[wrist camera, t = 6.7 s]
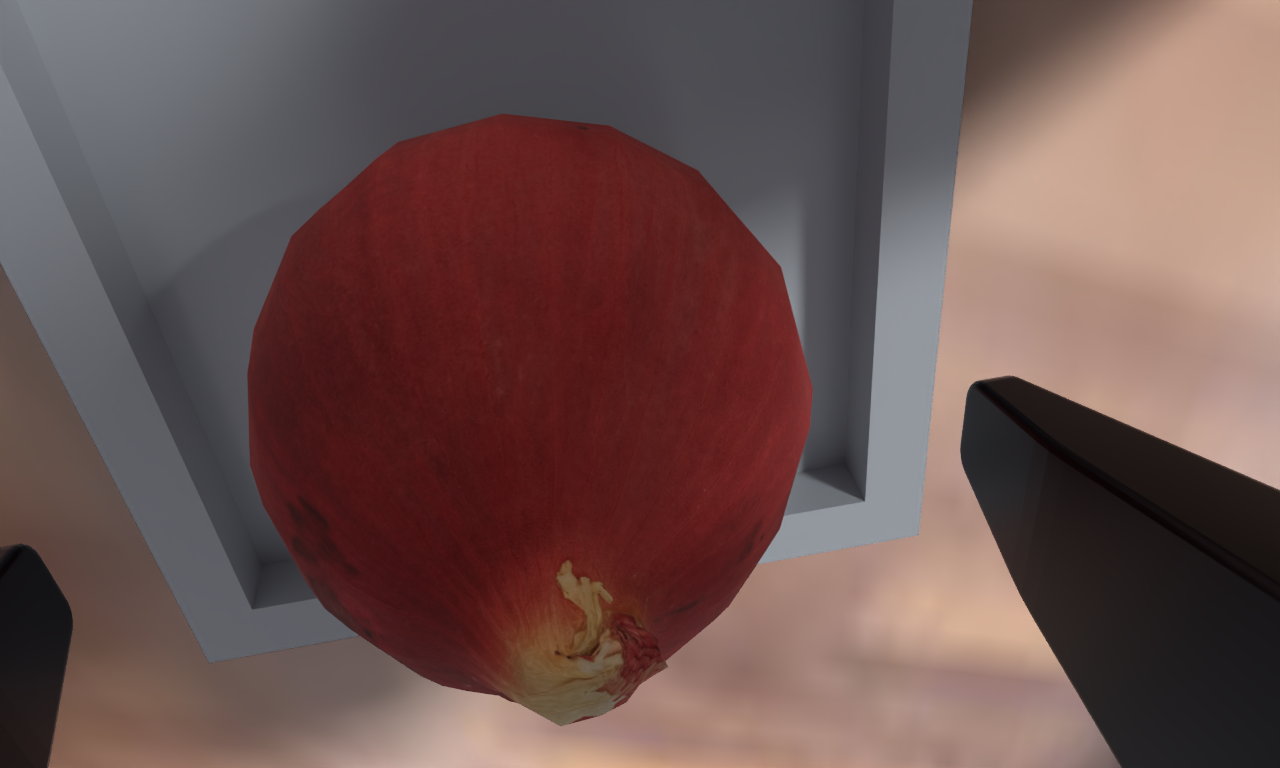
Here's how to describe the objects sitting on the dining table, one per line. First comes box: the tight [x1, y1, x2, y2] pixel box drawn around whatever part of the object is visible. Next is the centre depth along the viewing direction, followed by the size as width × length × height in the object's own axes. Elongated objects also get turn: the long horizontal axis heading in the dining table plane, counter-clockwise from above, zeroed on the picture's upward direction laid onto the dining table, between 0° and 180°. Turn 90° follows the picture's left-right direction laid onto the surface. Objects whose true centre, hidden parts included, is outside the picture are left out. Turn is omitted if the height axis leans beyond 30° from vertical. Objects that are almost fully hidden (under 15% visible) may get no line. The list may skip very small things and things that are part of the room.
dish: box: [0, 0, 973, 663], centre depth 14 cm, size 12×12×2 cm
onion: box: [247, 114, 813, 726], centre depth 10 cm, size 6×6×8 cm
